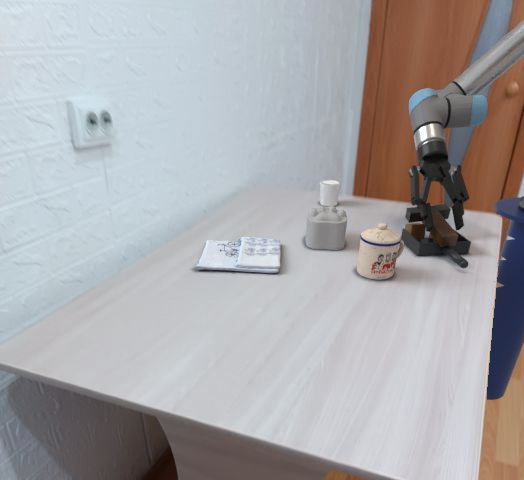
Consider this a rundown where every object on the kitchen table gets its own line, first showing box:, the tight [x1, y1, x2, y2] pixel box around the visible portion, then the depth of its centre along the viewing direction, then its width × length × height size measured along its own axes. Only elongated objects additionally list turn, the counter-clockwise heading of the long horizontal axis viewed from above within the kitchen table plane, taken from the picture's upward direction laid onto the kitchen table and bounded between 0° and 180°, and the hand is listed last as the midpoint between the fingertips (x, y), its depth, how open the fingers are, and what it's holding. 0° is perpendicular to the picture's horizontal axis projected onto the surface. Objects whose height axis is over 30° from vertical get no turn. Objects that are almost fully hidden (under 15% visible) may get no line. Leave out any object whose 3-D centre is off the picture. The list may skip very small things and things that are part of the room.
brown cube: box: [404, 222, 426, 240], centre depth 130 cm, size 4×4×4 cm
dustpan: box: [400, 227, 472, 269], centre depth 122 cm, size 22×14×3 cm, turn 8°
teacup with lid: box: [356, 222, 405, 281], centre depth 110 cm, size 12×9×12 cm
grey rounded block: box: [304, 204, 348, 251], centre depth 128 cm, size 10×13×9 cm
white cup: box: [319, 179, 342, 207], centre depth 156 cm, size 7×7×7 cm
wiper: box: [404, 203, 458, 247], centre depth 124 cm, size 11×3×16 cm
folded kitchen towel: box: [193, 235, 281, 274], centre depth 119 cm, size 19×20×2 cm
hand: (445, 228), depth 121 cm, fingers open, 7 cm apart
